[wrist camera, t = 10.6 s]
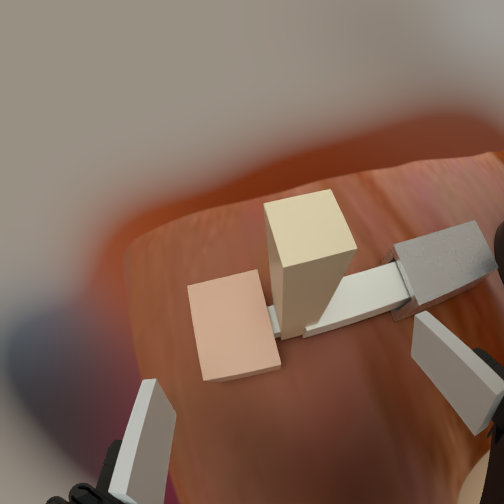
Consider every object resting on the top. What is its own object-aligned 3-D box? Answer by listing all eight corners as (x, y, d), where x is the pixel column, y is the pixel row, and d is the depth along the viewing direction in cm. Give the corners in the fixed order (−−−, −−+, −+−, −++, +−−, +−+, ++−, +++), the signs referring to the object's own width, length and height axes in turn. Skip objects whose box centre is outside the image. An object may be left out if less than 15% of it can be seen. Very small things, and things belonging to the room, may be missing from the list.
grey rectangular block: (451, 245, 29) (474, 219, 24) (470, 288, 26) (498, 267, 21) (374, 270, 29) (393, 244, 23) (394, 322, 26) (418, 305, 21)
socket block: (261, 292, 29) (257, 269, 24) (280, 368, 25) (281, 364, 20) (204, 306, 29) (187, 285, 23) (219, 382, 25) (203, 380, 20)
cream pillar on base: (414, 266, 27) (497, 158, 12) (426, 296, 25) (526, 203, 11) (231, 317, 27) (170, 221, 12) (239, 353, 25) (179, 300, 10)
